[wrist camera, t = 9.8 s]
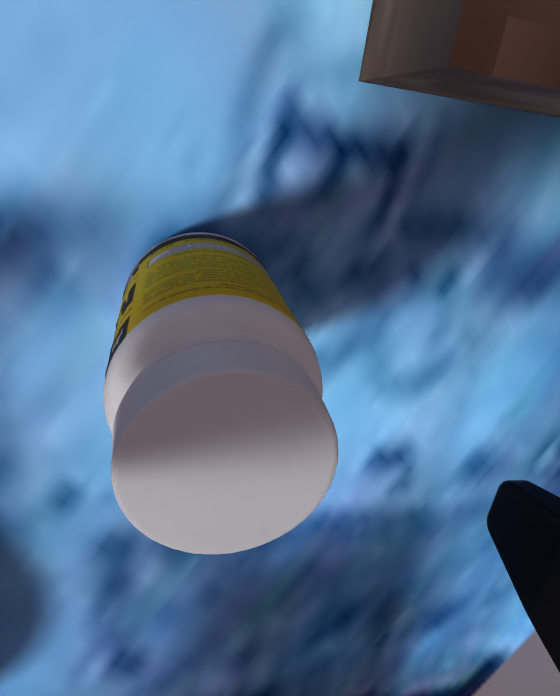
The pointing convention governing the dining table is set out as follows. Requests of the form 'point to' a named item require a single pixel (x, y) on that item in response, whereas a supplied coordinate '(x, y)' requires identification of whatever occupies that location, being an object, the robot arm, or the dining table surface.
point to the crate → (468, 50)
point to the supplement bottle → (214, 401)
